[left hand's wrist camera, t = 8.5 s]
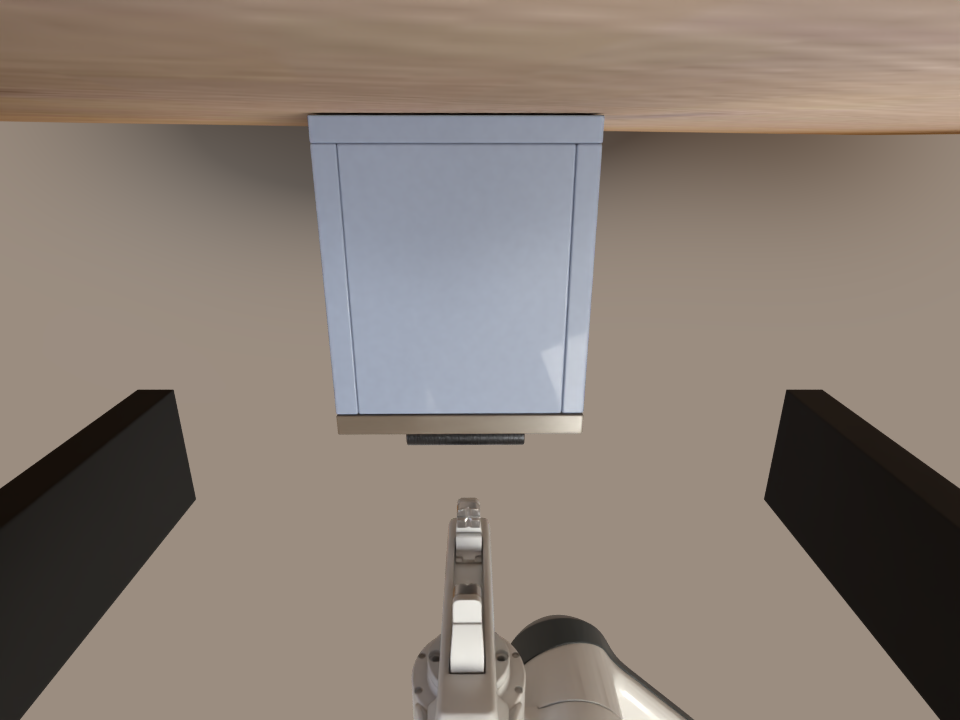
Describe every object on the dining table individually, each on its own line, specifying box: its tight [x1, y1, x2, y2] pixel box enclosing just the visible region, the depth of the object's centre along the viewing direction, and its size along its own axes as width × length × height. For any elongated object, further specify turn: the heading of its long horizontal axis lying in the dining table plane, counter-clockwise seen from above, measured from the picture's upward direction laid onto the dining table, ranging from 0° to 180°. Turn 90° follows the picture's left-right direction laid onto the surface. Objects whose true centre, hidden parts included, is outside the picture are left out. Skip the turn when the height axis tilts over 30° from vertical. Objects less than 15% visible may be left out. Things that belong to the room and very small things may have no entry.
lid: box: [337, 411, 583, 445], centre depth 31 cm, size 15×10×8 cm, turn 179°
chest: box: [307, 115, 604, 414], centre depth 28 cm, size 15×10×11 cm
